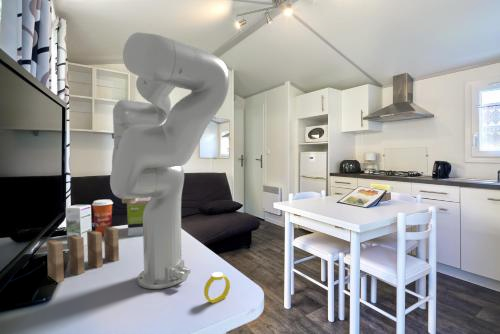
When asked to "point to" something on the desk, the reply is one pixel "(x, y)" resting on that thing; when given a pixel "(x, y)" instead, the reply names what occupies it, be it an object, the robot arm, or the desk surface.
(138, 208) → the tea box
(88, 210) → the syrup box
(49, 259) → the wooden domino block
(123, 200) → the tile
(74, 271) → the tile
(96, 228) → the paper cup
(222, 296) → the gold ring
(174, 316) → the desk surface
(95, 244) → the tile
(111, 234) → the tile
